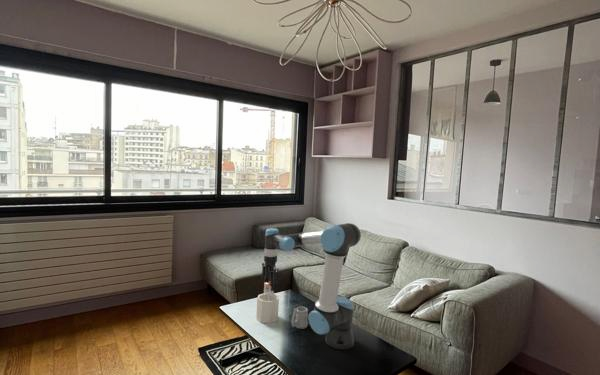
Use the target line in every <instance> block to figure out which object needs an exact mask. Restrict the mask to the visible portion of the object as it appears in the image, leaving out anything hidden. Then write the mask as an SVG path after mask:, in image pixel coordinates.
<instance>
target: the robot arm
mask: <svg viewBox="0 0 600 375" xmlns="http://www.w3.org/2000/svg"><path fill="white" fill-rule="evenodd" d="M361 234H362V233H361V230H360V228H359V227H358V226H357V225H355V224H354V223H352V222H351V223H348V222H347V223H346V222H345V223H342V224H341V223H340V224H333V225H330V226H327V227H325V228H324V229H323V230H315V231H314V230H313V231H306V232H305V231H304V232H299V233H292V234H285V235H284V234H280V231H279V229H278V228H274V227H272V228H271V227H269V228H266V230H265V235H264V251H263V252H264V256H263V257H264V258H263V262H262V263H261V267H262V268H261V269H262V270H261V272H262V273H261V280H263V293H268V289H266V288H265V283H266V282H268V281H270V285H269V296H273V294H275V292H274V290H275V286H277V285H278V277H279V275H278V272H280V271H279V268H277V266H276V263H277V262H278V256H277V255H278V249H280V250H282V251H287V252H291V251H292V250H293V249H294V248H298V247H306V246H318V245H321V247H322V249H323V253H324V254H325V257H324V258H325V259H324V265H323V271H322V279H321V286H320V291H319V298H318V299H317V300H316V301H315V303H314V310H311V311H310V312H309V313H308V318H307V320H308V325H310V328H311V329H312V331H313V332H314V333H316V334H318V335H325V340H324V341H325V343H326V344H327V345H328V346H330V348H333V349H337V350H348V349H351V348H353V347H354V345H355V337H354V333H353V328H352V327H353V320H354V319H353V318H354V310H355V309H354V302H353V301H352V300H351V299H349V298H347V297H344V296H338V295H339V289H340V283H341V278H342V277H341V276H342V270H343V264H344V258H346V257H348V254H349V248H352V247H354V246H356V245H357V244H358V243H359V242H360V240H361V236H362V235H361Z"/></svg>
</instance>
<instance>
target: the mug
mask: <svg viewBox="0 0 600 375" xmlns="http://www.w3.org/2000/svg"><path fill="white" fill-rule="evenodd" d="M308 310H309V309H308V308H307V307H305V306H298V307H294V308H293V312H292V316H291V319H290V323H291V326H292V328H295V327H296V329H303V330H304V329H306V328H307V327H308V325H309V320H308V317H309V313H308V312H309V311H308Z"/></svg>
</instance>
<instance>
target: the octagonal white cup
mask: <svg viewBox="0 0 600 375" xmlns="http://www.w3.org/2000/svg"><path fill="white" fill-rule="evenodd" d="M267 296H268V293H264V292H263V293H261V294H258V295H257V298H256V300H257V302H256V303H257V304H256V320H257V321H258V322H260V323H262V324H273V323H275V322H277V321H278V319H279V308H280V307H279V306H280V305H279V304H280V303H279V302H280V296H279V295H278V294H276V293H274V294H273V296H270V297H269V301H267Z"/></svg>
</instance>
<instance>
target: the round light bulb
mask: <svg viewBox="0 0 600 375" xmlns="http://www.w3.org/2000/svg"><path fill="white" fill-rule="evenodd" d="M269 285H270V280H269V281H267V282H266V283H265V288H266V289H268V296H267V301H269V297H270V296H269Z"/></svg>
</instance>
